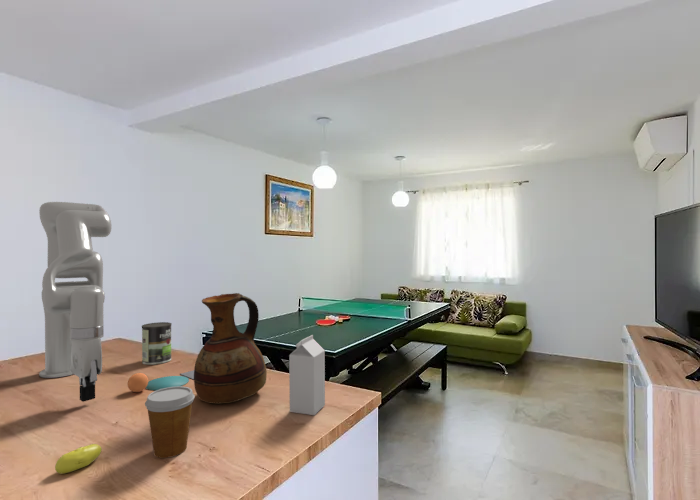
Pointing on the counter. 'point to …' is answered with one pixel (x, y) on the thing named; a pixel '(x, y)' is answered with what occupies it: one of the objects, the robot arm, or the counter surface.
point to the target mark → (167, 382)
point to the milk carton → (307, 377)
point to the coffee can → (156, 343)
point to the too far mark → (189, 374)
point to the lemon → (77, 458)
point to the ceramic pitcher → (229, 354)
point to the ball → (137, 382)
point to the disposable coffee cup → (169, 419)
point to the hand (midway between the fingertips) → (87, 399)
